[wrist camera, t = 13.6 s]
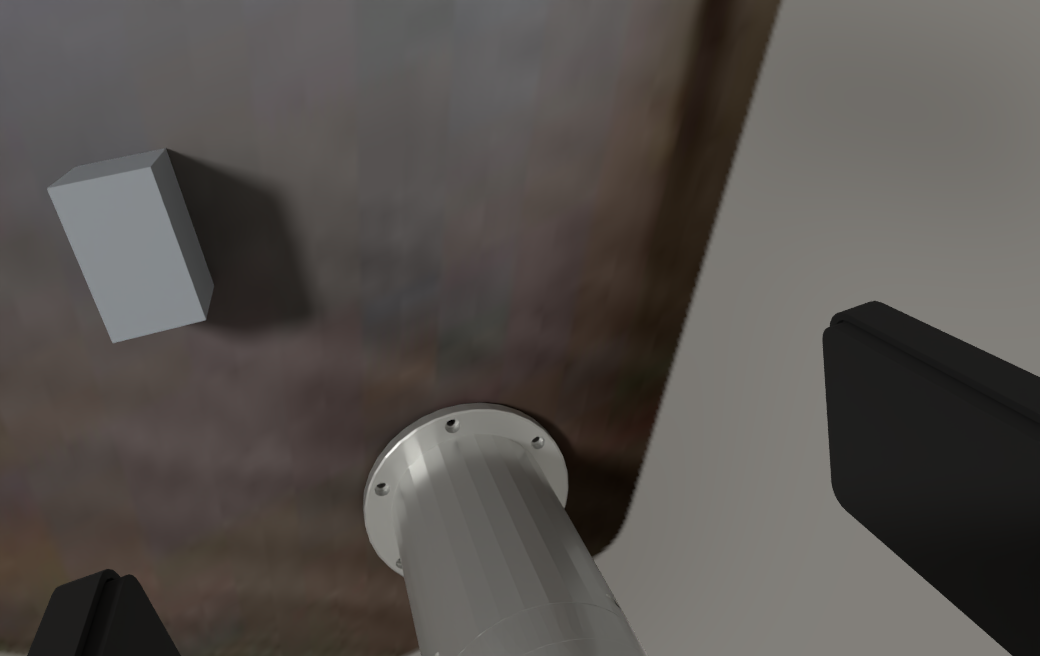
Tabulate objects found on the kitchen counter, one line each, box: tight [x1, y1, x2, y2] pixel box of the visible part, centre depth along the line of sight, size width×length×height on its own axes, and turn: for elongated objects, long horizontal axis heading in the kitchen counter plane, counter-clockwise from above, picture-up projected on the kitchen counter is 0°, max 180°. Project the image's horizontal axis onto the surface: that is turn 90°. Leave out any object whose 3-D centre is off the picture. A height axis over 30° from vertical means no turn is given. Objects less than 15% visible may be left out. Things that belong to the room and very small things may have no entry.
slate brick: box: [47, 148, 214, 343], centre depth 35 cm, size 7×4×5 cm, turn 10°
